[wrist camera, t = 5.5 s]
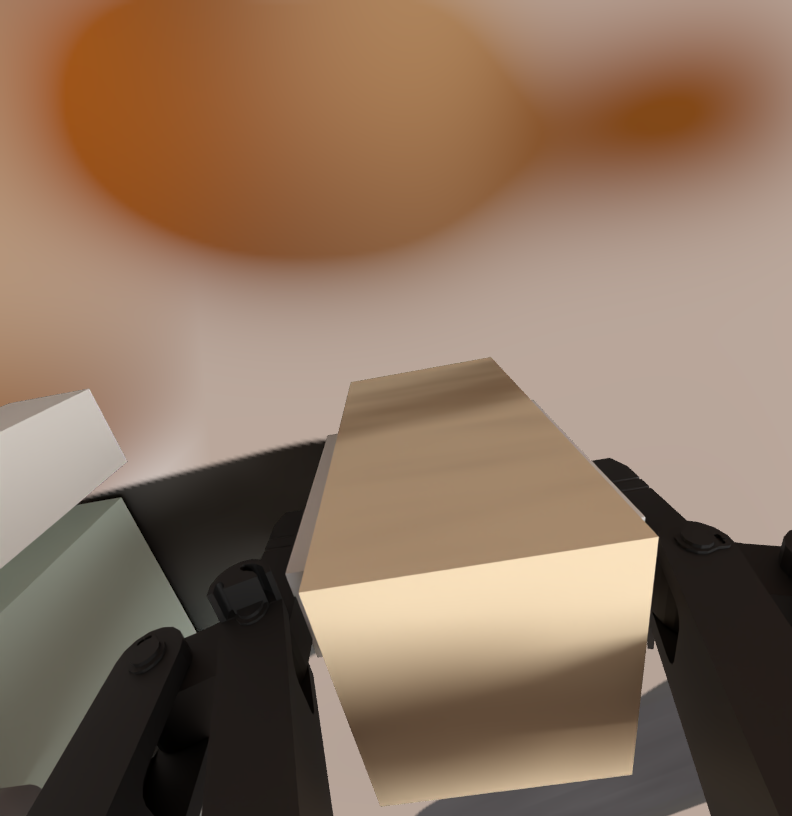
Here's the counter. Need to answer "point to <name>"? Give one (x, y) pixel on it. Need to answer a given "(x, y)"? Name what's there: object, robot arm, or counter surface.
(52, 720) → the door
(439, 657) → the tan rectangular block
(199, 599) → the counter surface
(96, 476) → the white piece
